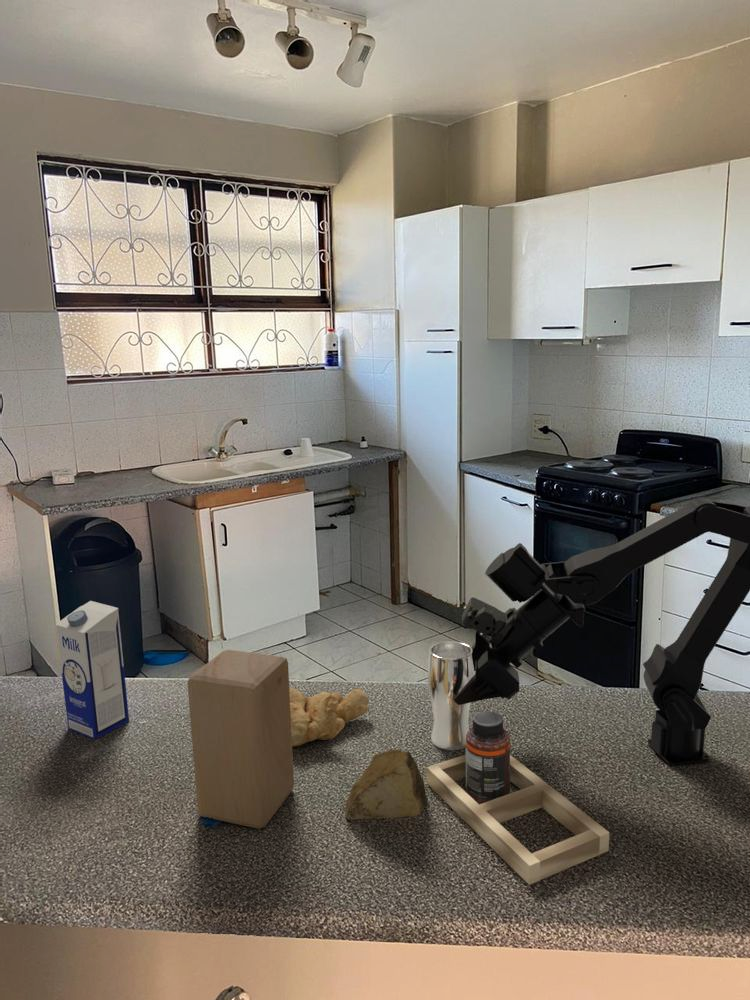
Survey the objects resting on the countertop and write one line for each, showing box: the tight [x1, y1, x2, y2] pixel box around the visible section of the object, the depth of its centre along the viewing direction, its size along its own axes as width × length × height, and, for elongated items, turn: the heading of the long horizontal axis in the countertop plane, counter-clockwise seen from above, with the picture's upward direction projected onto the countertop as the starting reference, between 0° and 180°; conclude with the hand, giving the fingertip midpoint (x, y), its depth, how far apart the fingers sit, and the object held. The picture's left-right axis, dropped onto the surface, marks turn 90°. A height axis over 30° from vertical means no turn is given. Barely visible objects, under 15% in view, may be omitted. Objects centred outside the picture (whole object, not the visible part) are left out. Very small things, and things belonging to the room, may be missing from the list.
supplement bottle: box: [465, 710, 511, 804], centre depth 100 cm, size 6×6×11 cm
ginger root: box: [289, 686, 371, 747], centre depth 118 cm, size 16×16×8 cm
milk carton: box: [55, 600, 130, 741], centre depth 120 cm, size 7×7×20 cm
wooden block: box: [187, 649, 295, 829], centre depth 98 cm, size 10×10×20 cm
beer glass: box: [427, 640, 475, 752], centre depth 113 cm, size 7×7×15 cm
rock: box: [344, 748, 428, 820], centre depth 98 cm, size 11×9×10 cm
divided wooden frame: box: [426, 754, 610, 886], centre depth 97 cm, size 22×12×2 cm, turn 27°
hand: (456, 687), depth 113 cm, fingers open, 9 cm apart
